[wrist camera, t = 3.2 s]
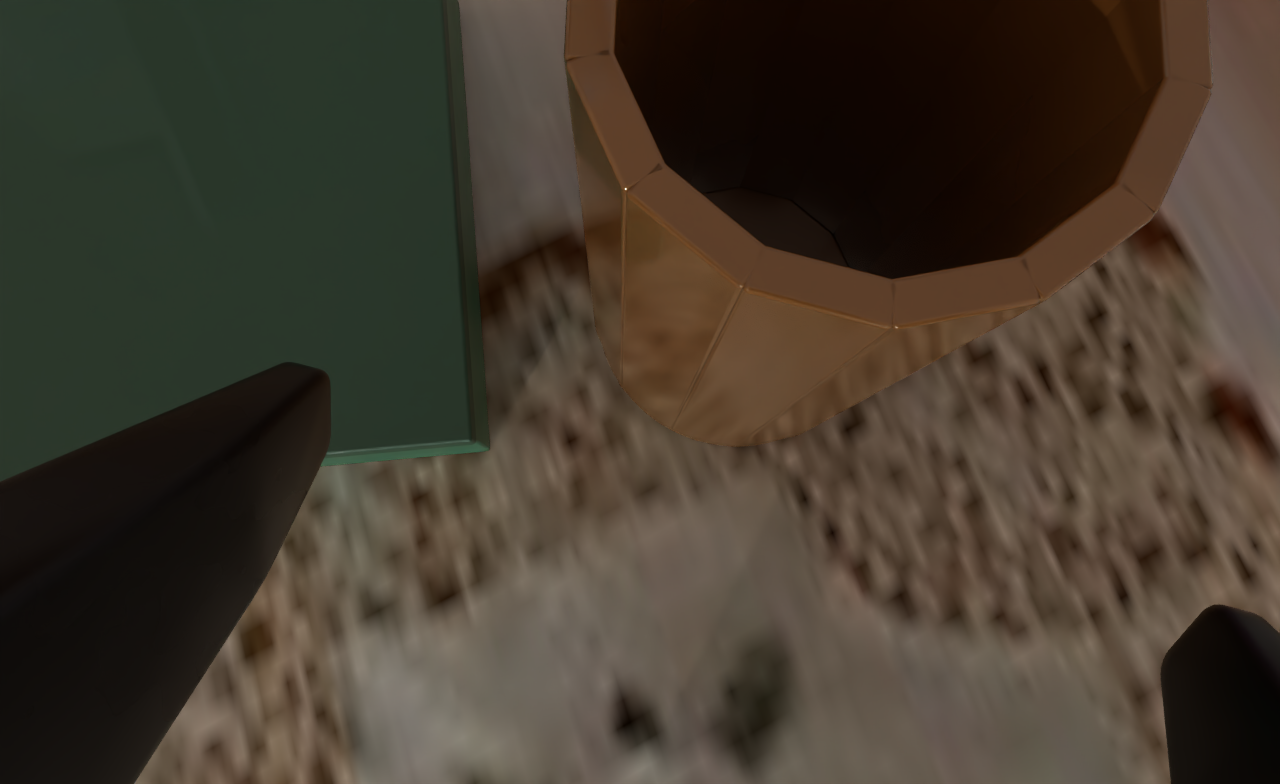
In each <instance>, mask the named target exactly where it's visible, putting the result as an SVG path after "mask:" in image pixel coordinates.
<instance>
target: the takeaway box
mask: <svg viewBox="0 0 1280 784" xmlns="http://www.w3.org/2000/svg"><path fill="white" fill-rule="evenodd" d="M284 362H295V363H299V364H303V365H307V366H310V367H314V368H318V369H322V370H324V371H325V372H326V373H327V374H328V376H329V379H330V385H331V437H330V443H329V447H328V450H327V453H326V455H325V458H324V460H323V462H322V464H321V466H331V465H342V464H353V463H364V462H374V461H385V460H396V459H407V458H418V457H429V456H440V455H451V454H462V453H472V452H483V451H488V450H489V449H490V440H489V425H488V411H487V397H486V383H485V368H484V354H483V340H482V326H481V311H480V297H479V283H478V268H477V254H476V240H475V226H474V211H473V197H472V183H471V169H470V154H469V140H468V126H467V111H466V97H465V83H464V69H463V54H462V40H461V26H460V12H459V3H458V0H0V481H3V480H5V479H7V478H10V477H12V476H15V475H17V474H19V473H22V472H24V471H27V470H29V469H31V468H34V467H36V466H38V465H41V464H43V463H46V462H48V461H50V460H53V459H55V458H57V457H60V456H62V455H65V454H67V453H69V452H72V451H74V450H76V449H79V448H81V447H84V446H86V445H88V444H91V443H93V442H95V441H98V440H100V439H103V438H105V437H107V436H110V435H112V434H114V433H117V432H119V431H122V430H124V429H126V428H129V427H131V426H133V425H136V424H138V423H141V422H143V421H145V420H148V419H150V418H152V417H155V416H157V415H160V414H162V413H164V412H167V411H169V410H171V409H174V408H176V407H179V406H181V405H183V404H186V403H188V402H191V401H193V400H195V399H198V398H200V397H202V396H205V395H207V394H210V393H212V392H214V391H217V390H219V389H221V388H224V387H226V386H229V385H231V384H233V383H236V382H238V381H240V380H243V379H245V378H248V377H250V376H252V375H255V374H257V373H259V372H262V371H264V370H267V369H269V368H271V367H274V366H276V365H278V364H281V363H284Z"/></svg>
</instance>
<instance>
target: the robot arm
mask: <svg viewBox="0 0 1280 784" xmlns="http://www.w3.org/2000/svg"><path fill="white" fill-rule="evenodd" d="M330 437H331V385H330V379H329V376H328V374H327V373H326V372H325V371H324V370H322V369H318V368H314V367H310V366H307V365H303V364H299V363H295V362H284V363H281V364H278V365H276V366H274V367H271V368H269V369H267V370H264V371H262V372H259V373H257V374H255V375H252V376H250V377H248V378H245V379H243V380H240V381H238V382H236V383H233V384H231V385H229V386H226V387H224V388H221V389H219V390H217V391H214V392H212V393H210V394H207V395H205V396H202V397H200V398H198V399H195V400H193V401H191V402H188V403H186V404H183V405H181V406H179V407H176V408H174V409H171V410H169V411H167V412H164V413H162V414H160V415H157V416H155V417H152V418H150V419H148V420H145V421H143V422H141V423H138V424H136V425H133V426H131V427H129V428H126V429H124V430H122V431H119V432H117V433H114V434H112V435H110V436H107V437H105V438H103V439H100V440H98V441H95V442H93V443H91V444H88V445H86V446H84V447H81V448H79V449H76V450H74V451H72V452H69V453H67V454H65V455H62V456H60V457H57V458H55V459H53V460H50V461H48V462H46V463H43V464H41V465H38V466H36V467H34V468H31V469H29V470H27V471H24V472H22V473H19V474H17V475H15V476H12V477H10V478H7V479H5V480H3V481H0V784H134V783H135V781H136V780H137V778H138V777H139V775H140V773H141V772H142V770H143V769H144V767H145V766H146V764H147V763H148V761H149V759H150V758H151V756H152V755H153V753H154V752H155V750H156V749H157V747H158V745H159V744H160V742H161V741H162V739H163V738H164V736H165V735H166V733H167V731H168V730H169V728H170V727H171V725H172V724H173V722H174V721H175V719H176V717H177V716H178V714H179V713H180V711H181V710H182V708H183V707H184V705H185V703H186V702H187V700H188V699H189V697H190V696H191V694H192V693H193V691H194V689H195V688H196V686H197V685H198V683H199V682H200V680H201V679H202V677H203V676H204V674H205V672H206V671H207V669H208V668H209V666H210V665H211V663H212V662H213V660H214V658H215V657H216V655H217V654H218V652H219V651H220V649H221V648H222V646H223V644H224V643H225V641H226V640H227V638H228V637H229V635H230V634H231V632H232V630H233V629H234V627H235V626H236V624H237V623H238V621H239V620H240V618H241V616H242V615H243V613H244V612H245V610H246V609H247V607H248V606H249V604H250V602H251V601H252V599H253V598H254V596H255V594H256V593H257V591H258V589H259V588H260V586H261V584H262V583H263V581H264V579H265V578H266V576H267V574H268V572H269V570H270V568H271V566H272V564H273V562H274V560H275V558H276V556H277V554H278V552H279V550H280V548H281V546H282V544H283V542H284V540H285V538H286V536H287V534H288V532H289V530H290V528H291V525H292V523H293V521H294V519H295V517H296V515H297V513H298V511H299V509H300V507H301V505H302V503H303V501H304V499H305V497H306V495H307V493H308V491H309V488H310V486H311V484H312V482H313V480H314V478H315V476H316V474H317V472H318V470H319V468H320V466H321V464H322V462H323V460H324V458H325V455H326V453H327V450H328V447H329V443H330ZM1161 687H1162V697H1163V707H1164V717H1165V727H1166V738H1167V748H1168V758H1169V768H1170V778H1171V784H1280V633H1279V632H1278V631H1277V630H1275V629H1274V628H1273V627H1272V626H1271V625H1270V624H1269V623H1268V622H1267V621H1266V620H1265V619H1263V618H1262V617H1261V616H1259V615H1257V614H1255V613H1252V612H1248V611H1244V610H1241V609H1237V608H1233V607H1229V606H1225V605H1212V606H1210V607H1208V608H1206V609H1205V610H1203V611H1202V612H1201V614H1200V615H1199V616H1198V617H1197V618H1196V619H1195V620H1194V622H1193V623H1192V624H1191V625H1190V626H1189V627H1188V628H1187V630H1186V631H1185V632H1184V633H1183V634H1182V635H1181V636H1180V638H1179V639H1178V640H1177V641H1176V642H1175V643H1174V644H1173V646H1172V647H1171V648H1170V649H1169V650H1168V652H1167V653H1166V655H1165V657H1164V659H1163V663H1162V666H1161Z"/></svg>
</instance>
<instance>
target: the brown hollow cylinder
mask: <svg viewBox="0 0 1280 784" xmlns="http://www.w3.org/2000/svg"><path fill="white" fill-rule="evenodd" d="M564 62H565V70H566V79H567V88H568V96H569V105H570V114H571V122H572V131H573V139H574V148H575V157H576V165H577V174H578V182H579V191H580V200H581V208H582V217H583V226H584V234H585V243H586V251H587V260H588V269H589V277H590V286H591V294H592V303H593V312H594V320H595V327H596V332H597V335H598V337H599V339H600V341H601V344H602V346H603V350H604V354H605V356H606V358H607V361H608V363H609V365H610V368H611V370H612V372H613V373H614V375H615V377H616V378H617V380H618V382H619V385H620V386H621V387H622V389H623V390H624V391H625V392H626V393H627V394H628V395H629V397H630V398H631V399H632V400H633V401H634V402H635V403H636V404H637V405H638V406H639V407H640V408H641V409H642V410H643V411H644V412H645V413H646V414H648V415H649V416H650V417H652V418H653V419H654V420H656V421H657V422H658V423H660V424H661V425H663V426H665V427H667V428H669V429H670V430H672V431H674V432H676V433H678V434H681V435H683V436H686V437H688V438H691V439H693V440H697V441H701V442H705V443H709V444H714V445H722V446H731V447H735V446H736V447H741V446H752V445H760V444H766V443H770V442H773V441H777V440H780V439H784V438H789V437H794V436H798V435H799V434H802V433H804V432H806V431H808V430H810V429H811V428H813V427H815V426H817V425H819V424H821V423H822V422H824V421H826V420H828V419H830V418H832V417H833V416H835V415H837V414H839V413H841V412H843V411H844V410H846V409H848V408H850V407H852V406H853V405H855V404H857V403H859V402H861V401H863V400H864V399H866V398H868V397H870V396H872V395H874V394H875V393H877V392H879V391H881V390H883V389H885V388H886V387H888V386H890V385H892V384H894V383H896V382H897V381H899V380H901V379H903V378H905V377H907V376H908V375H910V374H912V373H914V372H916V371H918V370H919V369H921V368H923V367H925V366H927V365H929V364H930V363H932V362H934V361H936V360H938V359H939V358H941V357H943V356H945V355H947V354H949V353H950V352H952V351H954V350H956V349H958V348H960V347H961V346H963V345H965V344H967V343H969V342H971V341H972V340H974V339H976V338H978V337H980V336H982V335H983V334H985V333H987V332H989V331H991V330H993V329H994V328H996V327H998V326H1000V325H1002V324H1004V323H1005V322H1007V321H1009V320H1011V319H1013V318H1015V317H1016V316H1018V315H1020V314H1022V313H1024V312H1025V311H1027V310H1029V309H1031V308H1033V307H1035V306H1036V305H1038V304H1040V303H1042V302H1044V301H1046V300H1047V299H1048V298H1050V297H1051V296H1052V295H1054V294H1055V293H1056V292H1058V291H1059V290H1060V289H1062V288H1063V287H1064V286H1065V285H1067V284H1068V283H1069V282H1071V281H1072V280H1073V279H1075V278H1076V277H1077V276H1079V275H1080V274H1081V273H1083V272H1084V271H1085V270H1086V269H1088V268H1089V267H1090V266H1092V265H1093V264H1094V263H1096V262H1097V261H1098V260H1100V259H1101V258H1102V257H1104V256H1105V255H1106V254H1108V253H1109V252H1110V251H1111V250H1113V249H1114V248H1115V247H1117V246H1118V245H1119V244H1121V243H1122V242H1123V241H1125V240H1126V239H1127V238H1129V237H1130V236H1131V235H1132V234H1134V233H1135V232H1136V231H1138V230H1139V229H1140V228H1142V227H1143V226H1144V225H1146V224H1147V223H1148V222H1150V221H1151V220H1152V218H1153V216H1154V214H1156V213H1157V212H1158V211H1159V209H1160V206H1161V204H1162V202H1163V200H1164V198H1165V195H1166V193H1167V191H1168V189H1169V187H1170V184H1171V182H1172V180H1173V178H1174V175H1175V173H1176V171H1177V169H1178V167H1179V164H1180V162H1181V160H1182V158H1183V156H1184V153H1185V151H1186V149H1187V147H1188V145H1189V142H1190V140H1191V138H1192V136H1193V134H1194V131H1195V129H1196V127H1197V125H1198V123H1199V120H1200V118H1201V116H1202V114H1203V112H1204V109H1205V107H1206V105H1207V103H1208V101H1209V98H1210V96H1211V88H1212V86H1213V72H1212V57H1211V42H1210V26H1209V11H1208V0H567V7H566V26H565V45H564Z"/></svg>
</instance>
